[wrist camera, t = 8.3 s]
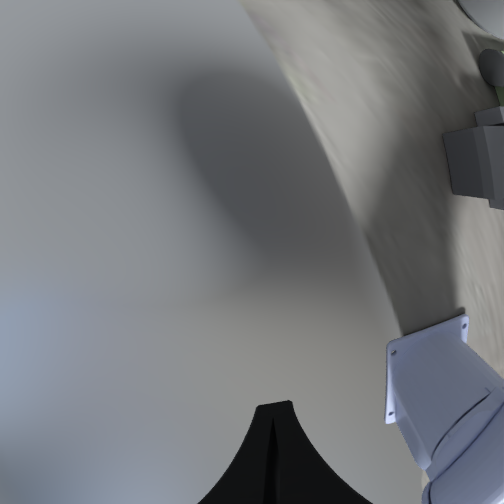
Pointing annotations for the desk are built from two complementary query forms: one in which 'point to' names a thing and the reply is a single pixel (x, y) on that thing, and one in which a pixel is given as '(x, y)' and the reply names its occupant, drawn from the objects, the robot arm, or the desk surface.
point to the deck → (499, 75)
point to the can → (486, 15)
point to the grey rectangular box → (476, 161)
